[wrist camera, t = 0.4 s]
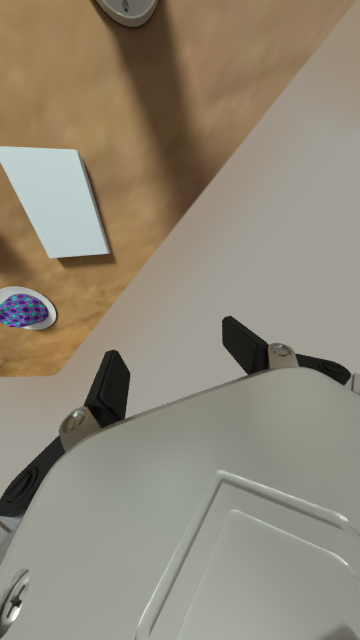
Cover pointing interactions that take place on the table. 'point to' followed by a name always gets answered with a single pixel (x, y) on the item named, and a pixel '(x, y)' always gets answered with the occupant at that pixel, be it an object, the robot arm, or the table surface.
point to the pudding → (25, 309)
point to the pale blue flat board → (56, 199)
